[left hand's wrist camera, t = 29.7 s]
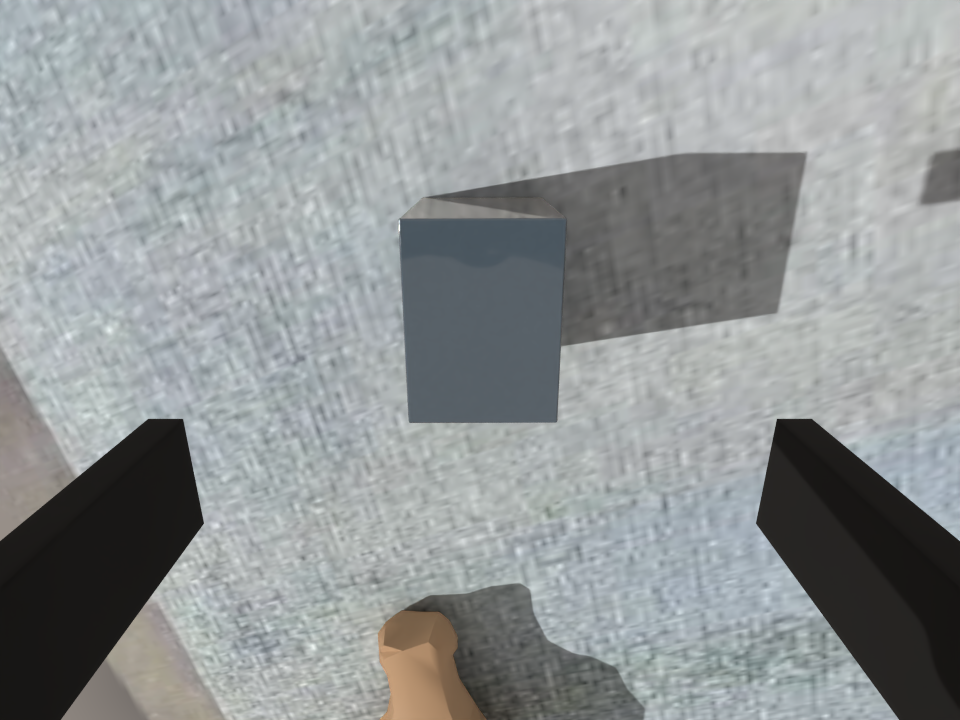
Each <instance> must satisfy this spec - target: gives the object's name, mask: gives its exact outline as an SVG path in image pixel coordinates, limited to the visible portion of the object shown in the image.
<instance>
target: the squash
mask: <svg viewBox="0 0 960 720" xmlns="http://www.w3.org/2000/svg"><path fill="white" fill-rule="evenodd" d="M378 641H379V656H380V663H381V665H382V667H383V669H384V671H385V672H386V674H387V676H388V681H389V687H390V692H391V695H390V700H389V705H388V710H387V712H386V713H385V714H384V716H383V717H382V718H381V719H380V720H487V719H486V718H485V717H484V715H483V714H482V712H481V711H480V709H479V708H478V707H477V705H476V704H475V702H474V701H473V699H472V697H471V696H470V694H469V693H468V691H467V689H466V688H465V686H464V685H463V683H462V682H461V680H460V678H459V675H458V672H457V668H456V664H455V660H454V656H453V654H454V652H455V651H456V650H457V648H458V636H457V634H456V632H455V630H454V628H453V626H452V624H451V622H450V620H449V619H447V618H446V617H445V616H444V615H442V614H441V613H440V612H417V611H404V610H402V611H400V612H399V613H397V614H396V615H394V616H393V617H392V618H390V619H389V620H388V621H387V622H386V623H385V624H384V626H383V627H382V628H381V630H380V631H379V633H378Z"/></svg>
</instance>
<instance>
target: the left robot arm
mask: <svg viewBox="0 0 960 720" xmlns="http://www.w3.org/2000/svg"><path fill="white" fill-rule="evenodd" d="M203 524H204V521H203V516H202V512H201V507H200V502H199V497H198V492H197V487H196V482H195V477H194V472H193V467H192V462H191V457H190V452H189V447H188V442H187V437H186V432H185V427H184V422H183V419H148V420H146V421H145V422H144V423H143V424H142V425H140V426H139V427H138V428H137V429H136V430H134V431H133V432H132V433H131V434H129V435H128V436H127V437H126V438H125V439H123V440H122V441H121V442H120V443H119V444H117V445H116V446H115V447H114V448H113V449H111V450H110V451H109V452H108V453H106V454H105V455H104V456H103V457H102V458H100V459H99V460H98V461H97V462H96V463H94V464H93V465H92V466H91V467H90V468H88V469H87V470H86V471H85V472H83V473H82V474H81V475H80V476H79V477H77V478H76V479H75V480H74V481H73V482H71V483H70V484H69V485H68V486H66V487H65V488H64V489H63V490H62V491H60V492H59V493H58V494H57V495H56V496H54V497H53V498H52V499H51V500H50V501H48V502H47V503H46V504H45V505H43V506H42V507H41V508H40V509H39V510H37V511H36V512H35V513H34V514H33V515H31V516H30V517H29V518H28V519H27V520H25V521H24V522H23V523H22V524H20V525H19V526H18V527H17V528H16V529H14V530H13V531H12V532H11V533H10V534H8V535H7V536H6V537H5V538H4V539H2V540H1V541H0V720H61V719H62V717H63V716H64V715H65V713H66V712H67V710H68V709H69V708H70V706H71V705H72V704H73V702H74V701H75V699H76V698H77V697H78V695H79V694H80V693H81V691H82V690H83V688H84V687H85V686H86V684H87V683H88V682H89V680H90V679H91V677H92V676H93V675H94V673H95V672H96V671H97V669H98V668H99V667H100V665H101V664H102V662H103V661H104V660H105V658H106V657H107V656H108V654H109V653H110V651H111V650H112V649H113V647H114V646H115V645H116V643H117V642H118V641H119V639H120V638H121V636H122V635H123V634H124V632H125V631H126V630H127V628H128V627H129V625H130V624H131V623H132V621H133V620H134V619H135V617H136V616H137V614H138V613H139V612H140V610H141V609H142V608H143V606H144V605H145V604H146V602H147V601H148V599H149V598H150V597H151V595H152V594H153V593H154V591H155V590H156V588H157V587H158V586H159V584H160V583H161V582H162V580H163V579H164V577H165V576H166V575H167V573H168V572H169V571H170V569H171V568H172V567H173V565H174V564H175V562H176V561H177V560H178V558H179V557H180V556H181V554H182V553H183V551H184V550H185V549H186V547H187V546H188V545H189V543H190V542H191V540H192V539H193V538H194V536H195V535H196V534H197V532H198V531H199V530H200V528H201V527H202V525H203ZM756 524H757V525H758V527H759V528H760V530H761V531H762V532H763V534H764V535H765V536H766V538H767V539H768V540H769V542H770V543H771V545H772V546H773V547H774V549H775V550H776V551H777V553H778V554H779V556H780V557H781V558H782V560H783V561H784V562H785V564H786V565H787V567H788V568H789V569H790V571H791V572H792V573H793V575H794V576H795V577H796V579H797V580H798V582H799V583H800V584H801V586H802V587H803V588H804V590H805V591H806V593H807V594H808V595H809V597H810V598H811V599H812V601H813V602H814V604H815V605H816V606H817V608H818V609H819V610H820V612H821V613H822V614H823V616H824V617H825V619H826V620H827V621H828V623H829V624H830V625H831V627H832V628H833V630H834V631H835V632H836V634H837V635H838V636H839V638H840V639H841V641H842V642H843V643H844V645H845V646H846V647H847V649H848V650H849V651H850V653H851V654H852V656H853V657H854V658H855V660H856V661H857V662H858V664H859V665H860V667H861V668H862V669H863V671H864V672H865V673H866V675H867V676H868V678H869V679H870V680H871V682H872V683H873V684H874V686H875V687H876V688H877V690H878V691H879V693H880V694H881V695H882V697H883V698H884V699H885V701H886V702H887V704H888V705H889V706H890V708H891V709H892V710H893V712H894V713H895V715H896V716H897V717H898V719H899V720H960V541H959V540H958V539H956V538H955V537H954V536H953V535H952V534H950V533H949V532H948V531H947V530H946V529H944V528H943V527H942V526H941V525H940V524H938V523H937V522H936V521H935V520H933V519H932V518H931V517H930V516H929V515H927V514H926V513H925V512H924V511H923V510H921V509H920V508H919V507H918V506H917V505H915V504H914V503H913V502H912V501H910V500H909V499H908V498H907V497H906V496H904V495H903V494H902V493H901V492H900V491H898V490H897V489H896V488H895V487H894V486H892V485H891V484H890V483H889V482H887V481H886V480H885V479H884V478H883V477H881V476H880V475H879V474H878V473H877V472H875V471H874V470H873V469H872V468H870V467H869V466H868V465H867V464H866V463H864V462H863V461H862V460H861V459H860V458H858V457H857V456H856V455H855V454H854V453H852V452H851V451H850V450H849V449H847V448H846V447H845V446H844V445H843V444H841V443H840V442H839V441H838V440H837V439H835V438H834V437H833V436H832V435H831V434H829V433H828V432H827V431H826V430H824V429H823V428H822V427H821V426H820V425H818V424H817V423H816V422H815V421H814V420H812V419H777V422H776V427H775V432H774V437H773V442H772V447H771V452H770V457H769V462H768V467H767V472H766V477H765V482H764V487H763V492H762V497H761V502H760V507H759V512H758V516H757V521H756Z"/></svg>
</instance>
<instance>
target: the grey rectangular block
mask: <svg viewBox="0 0 960 720" xmlns="http://www.w3.org/2000/svg"><path fill="white" fill-rule="evenodd" d="M398 225H399V244H400V263H401V282H402V301H403V321H404V340H405V359H406V378H407V397H408V417H409V423H533V422H557V416H558V395H559V374H560V353H561V333H562V312H563V291H564V271H565V250H566V229H567V219H566V218H565V217H564V216H563V215H562V214H561V213H559V212H558V211H557V210H556V209H555V208H554V207H552V206H551V205H550V204H549V203H548V202H547V201H545V200H544V199H543V198H542V197H479V198H422V199H421V200H419V201H418V202H417V203H416V204H415V205H414V206H413V207H412V208H411V209H409V210H408V211H407V212H406V213H405V214H404V215H403V216H402V217H401V218H399V220H398Z"/></svg>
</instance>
